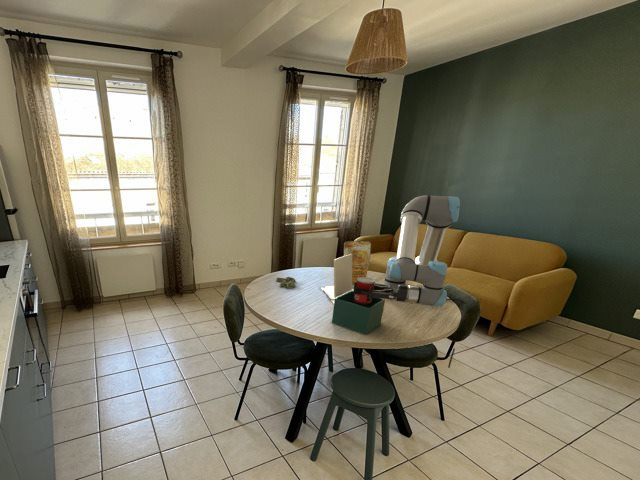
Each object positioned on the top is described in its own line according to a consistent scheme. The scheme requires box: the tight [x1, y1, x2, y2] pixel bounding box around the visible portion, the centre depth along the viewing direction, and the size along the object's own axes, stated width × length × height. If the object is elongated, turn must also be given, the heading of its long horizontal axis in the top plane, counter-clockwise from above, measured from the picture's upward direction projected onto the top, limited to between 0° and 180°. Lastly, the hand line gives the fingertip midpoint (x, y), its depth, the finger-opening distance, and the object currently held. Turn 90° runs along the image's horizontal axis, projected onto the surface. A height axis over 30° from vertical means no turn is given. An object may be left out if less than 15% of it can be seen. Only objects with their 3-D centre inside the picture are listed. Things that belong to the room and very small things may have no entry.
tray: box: [320, 285, 354, 305], centre depth 198 cm, size 20×28×4 cm
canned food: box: [354, 276, 376, 304], centre depth 155 cm, size 8×8×11 cm
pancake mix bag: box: [343, 240, 372, 285], centre depth 215 cm, size 7×19×28 cm, turn 93°
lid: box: [333, 254, 353, 298], centre depth 160 cm, size 19×17×1 cm
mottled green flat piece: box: [276, 276, 296, 289], centre depth 217 cm, size 18×12×2 cm, turn 2°
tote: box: [331, 291, 386, 335], centre depth 160 cm, size 18×17×13 cm
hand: (353, 287), depth 156 cm, fingers closed on canned food, 8 cm apart
